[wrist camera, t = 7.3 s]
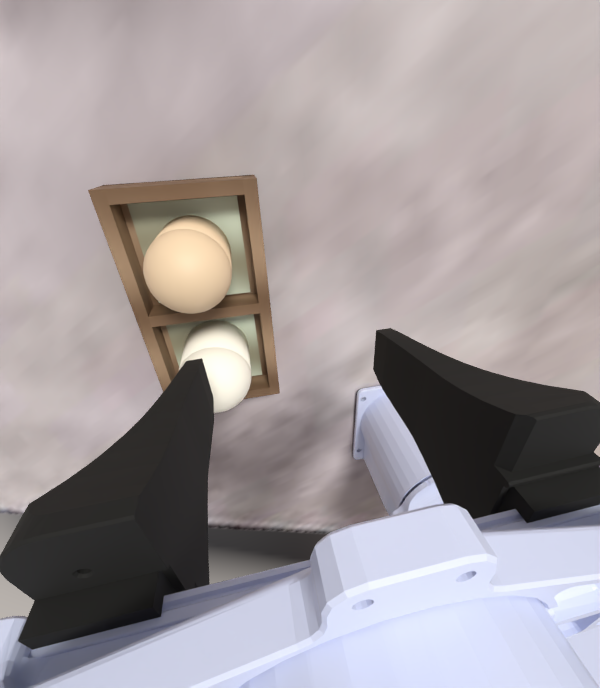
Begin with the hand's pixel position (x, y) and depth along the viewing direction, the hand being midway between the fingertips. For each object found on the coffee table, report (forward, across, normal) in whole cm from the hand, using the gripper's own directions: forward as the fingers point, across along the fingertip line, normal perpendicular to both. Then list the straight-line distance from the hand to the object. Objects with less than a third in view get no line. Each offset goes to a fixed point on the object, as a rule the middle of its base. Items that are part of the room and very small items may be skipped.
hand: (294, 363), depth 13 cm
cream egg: (+9, +4, +4) cm, 11 cm away
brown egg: (+9, +4, -2) cm, 10 cm away
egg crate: (+10, +4, +1) cm, 11 cm away
